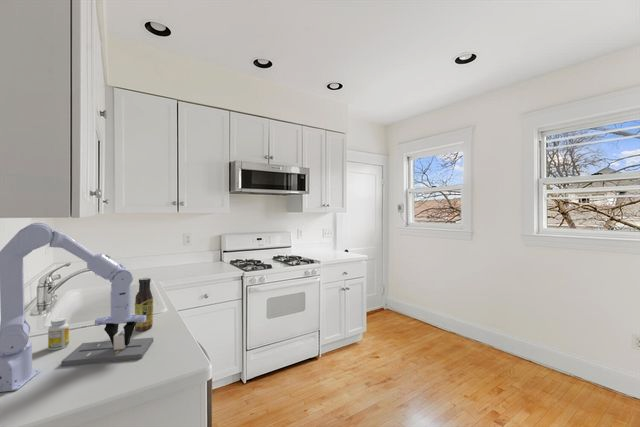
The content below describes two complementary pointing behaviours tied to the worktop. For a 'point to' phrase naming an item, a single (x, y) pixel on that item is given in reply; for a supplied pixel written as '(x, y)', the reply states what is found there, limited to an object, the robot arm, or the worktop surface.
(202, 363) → the worktop surface
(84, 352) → the fader console
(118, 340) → the fader cap
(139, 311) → the sauce bottle
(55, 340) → the supplement bottle
